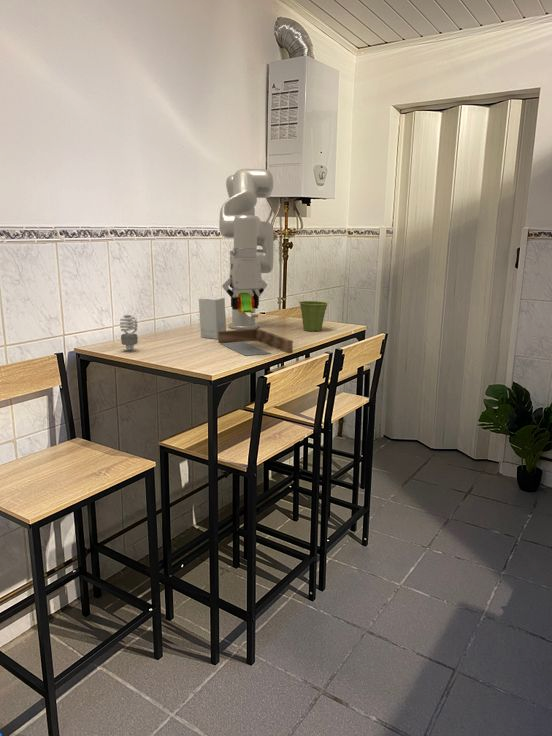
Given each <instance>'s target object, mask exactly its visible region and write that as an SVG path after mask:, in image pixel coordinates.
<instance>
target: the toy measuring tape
mask: <svg viewBox="0 0 552 736" xmlns="http://www.w3.org/2000/svg"><path fill="white" fill-rule="evenodd" d="M236 298H238V309H237V310H238V312H240V313H241V314H247V316H249V317H251V318H254V317H255V318H258V317H259V313H258V312H255V313H253V308H254V304H255V302H254V298H253V297H251V295H250V294H249V293H240V294H238V295H237V297H236Z"/></svg>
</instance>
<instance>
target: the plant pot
mask: <svg viewBox="0 0 552 736" xmlns="http://www.w3.org/2000/svg"><path fill="white" fill-rule="evenodd" d="M298 303H299V307H300V310H301V319H302V327H303V330H304V331H305V332H306V331H307V332H315V331H316V332H321V331H322V328H323V323H324V318H325V314H326V310H327V306H328V305H329V302H325V301H320V300H319V301H318V300H303V301H298Z"/></svg>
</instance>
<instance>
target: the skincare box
mask: <svg viewBox="0 0 552 736" xmlns="http://www.w3.org/2000/svg"><path fill="white" fill-rule="evenodd" d="M225 301H226V300H225V297H218V296H217V297H216V296H215V297H214V296H213V297H212V296H206V297H201V298H200V297H199V298H198V310H199V325H200V327H199V328H200V330H199V331H200V338H203V339H204V338H205V339H214V340H218V331H227V320H226V319H227V317H226V316H227V315H226V302H225Z"/></svg>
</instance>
